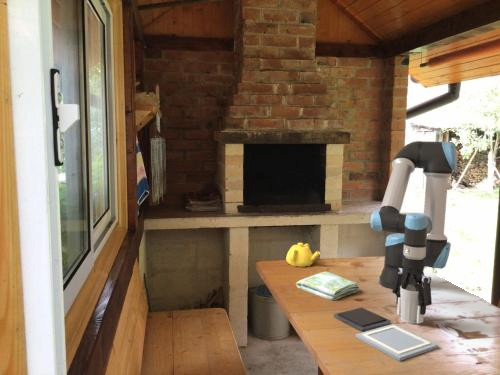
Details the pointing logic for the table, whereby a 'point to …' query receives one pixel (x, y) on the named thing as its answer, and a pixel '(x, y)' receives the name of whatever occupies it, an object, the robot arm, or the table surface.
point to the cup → (409, 304)
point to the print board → (396, 341)
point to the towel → (328, 285)
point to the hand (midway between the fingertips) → (409, 318)
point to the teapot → (301, 255)
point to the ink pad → (362, 319)
